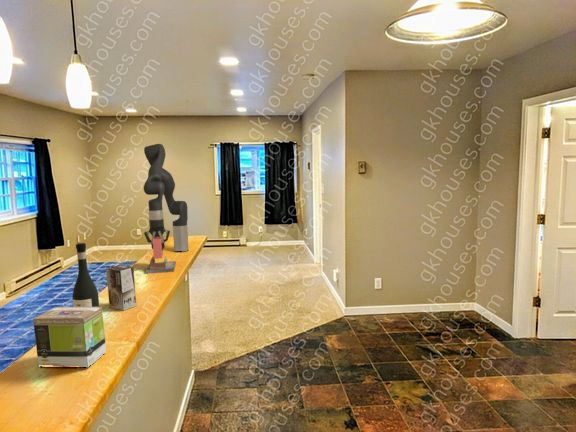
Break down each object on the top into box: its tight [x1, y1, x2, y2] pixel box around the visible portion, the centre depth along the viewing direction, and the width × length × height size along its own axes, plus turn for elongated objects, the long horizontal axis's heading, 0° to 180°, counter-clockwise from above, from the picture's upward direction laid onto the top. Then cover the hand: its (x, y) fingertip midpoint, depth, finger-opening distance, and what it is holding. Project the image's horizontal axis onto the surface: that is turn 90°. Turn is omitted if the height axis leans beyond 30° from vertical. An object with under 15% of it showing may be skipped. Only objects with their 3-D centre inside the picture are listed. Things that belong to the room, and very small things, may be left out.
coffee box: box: [105, 264, 137, 311], centre depth 161 cm, size 9×6×16 cm
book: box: [152, 237, 164, 260], centre depth 221 cm, size 4×12×10 cm, turn 12°
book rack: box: [145, 256, 177, 275], centre depth 222 cm, size 18×14×6 cm
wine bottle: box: [72, 242, 100, 307], centre depth 139 cm, size 8×8×30 cm
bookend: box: [163, 255, 173, 268], centre depth 223 cm, size 10×4×4 cm, turn 13°
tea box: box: [32, 306, 107, 367], centre depth 116 cm, size 15×10×15 cm, turn 84°
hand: (158, 249), depth 221 cm, fingers closed on book, 4 cm apart
